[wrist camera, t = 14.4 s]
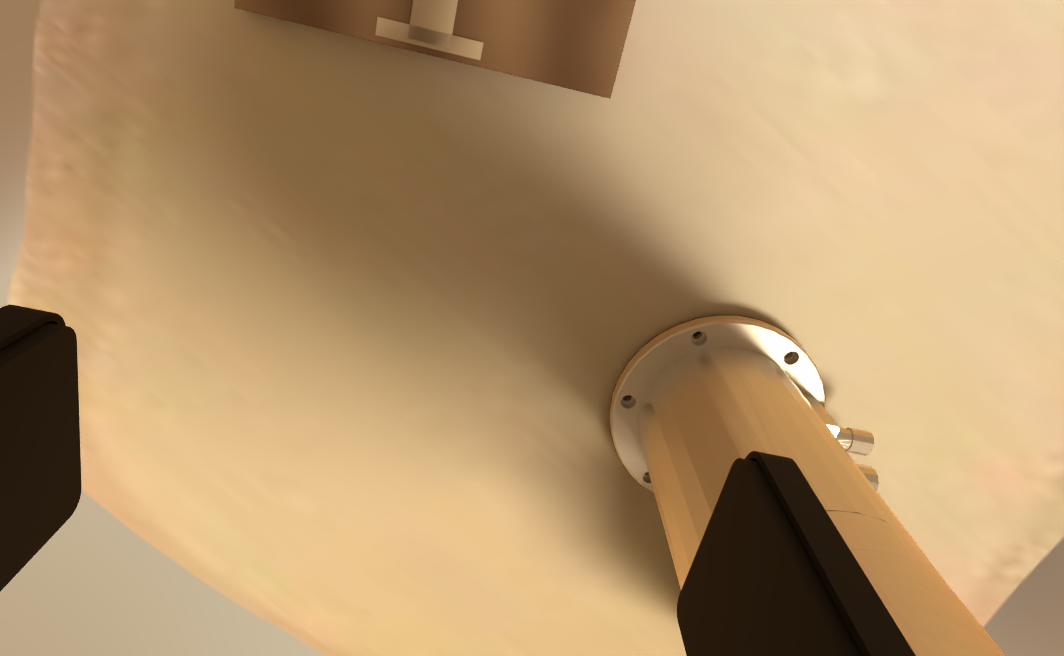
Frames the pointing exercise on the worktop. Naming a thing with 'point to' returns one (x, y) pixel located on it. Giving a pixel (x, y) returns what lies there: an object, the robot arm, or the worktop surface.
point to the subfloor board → (484, 33)
